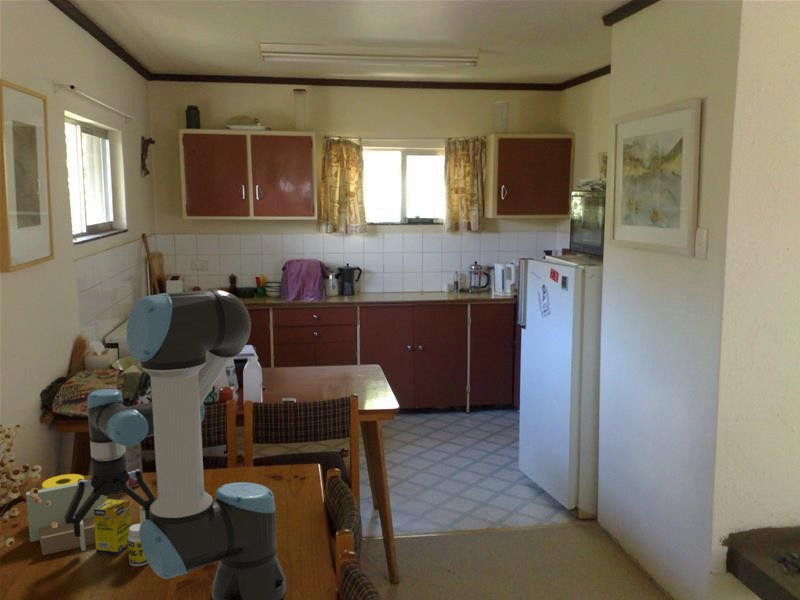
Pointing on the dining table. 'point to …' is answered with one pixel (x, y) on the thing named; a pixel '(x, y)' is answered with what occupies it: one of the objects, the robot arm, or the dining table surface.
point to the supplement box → (112, 526)
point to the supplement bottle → (135, 547)
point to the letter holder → (59, 518)
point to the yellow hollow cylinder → (61, 480)
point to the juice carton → (133, 462)
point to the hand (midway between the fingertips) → (114, 541)
